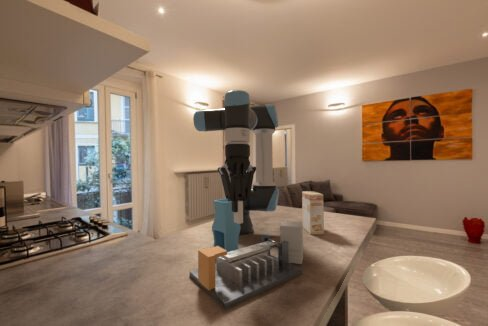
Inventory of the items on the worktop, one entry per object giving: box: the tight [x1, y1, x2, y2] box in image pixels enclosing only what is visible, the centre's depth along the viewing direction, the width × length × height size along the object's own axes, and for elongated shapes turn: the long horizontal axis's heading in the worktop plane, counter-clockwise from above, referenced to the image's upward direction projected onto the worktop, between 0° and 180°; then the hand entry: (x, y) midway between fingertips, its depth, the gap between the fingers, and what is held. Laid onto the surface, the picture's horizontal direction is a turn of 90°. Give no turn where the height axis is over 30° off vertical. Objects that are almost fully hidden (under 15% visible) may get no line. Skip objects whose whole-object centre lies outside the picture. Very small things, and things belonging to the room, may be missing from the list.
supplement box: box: [279, 220, 304, 265], centre depth 78 cm, size 7×7×13 cm
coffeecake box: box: [301, 190, 325, 236], centre depth 114 cm, size 15×7×20 cm, turn 179°
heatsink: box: [189, 234, 303, 311], centre depth 67 cm, size 20×28×8 cm
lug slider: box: [197, 246, 227, 290], centre depth 60 cm, size 6×6×8 cm
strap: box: [221, 238, 279, 262], centre depth 69 cm, size 6×20×2 cm, turn 127°
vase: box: [211, 198, 241, 252], centre depth 85 cm, size 8×8×20 cm
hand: (238, 222), depth 66 cm, fingers closed
